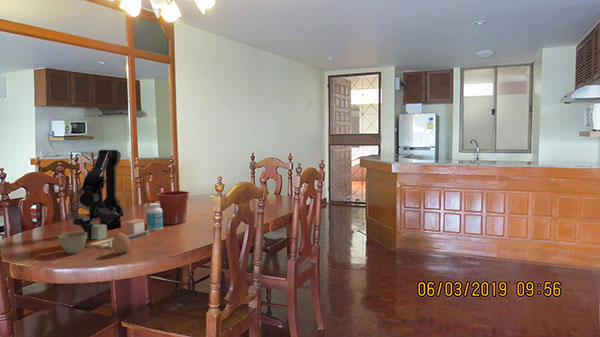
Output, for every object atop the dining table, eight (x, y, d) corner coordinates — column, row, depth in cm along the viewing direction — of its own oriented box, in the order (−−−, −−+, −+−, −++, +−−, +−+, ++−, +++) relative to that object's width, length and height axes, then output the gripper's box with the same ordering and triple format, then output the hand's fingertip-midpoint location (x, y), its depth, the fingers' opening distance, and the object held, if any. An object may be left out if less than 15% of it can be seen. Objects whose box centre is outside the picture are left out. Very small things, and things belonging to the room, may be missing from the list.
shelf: (89, 246, 168) (88, 238, 167) (129, 235, 188) (129, 227, 188) (110, 249, 163) (110, 241, 163) (150, 237, 183) (149, 230, 183)
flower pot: (184, 225, 208) (183, 195, 207) (153, 225, 208) (152, 195, 207) (193, 219, 224) (193, 191, 223) (164, 219, 225) (163, 190, 224)
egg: (132, 251, 161) (132, 231, 161) (126, 255, 155) (125, 235, 154) (116, 251, 161) (115, 231, 161) (109, 255, 155) (108, 235, 154)
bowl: (66, 248, 164) (66, 231, 164) (92, 248, 165) (91, 231, 165) (54, 256, 154) (53, 237, 154) (80, 255, 155) (80, 237, 155)
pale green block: (98, 242, 175) (98, 226, 174) (87, 240, 177) (86, 225, 177) (107, 240, 179) (106, 224, 179) (96, 238, 182) (95, 223, 181)
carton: (125, 237, 179) (125, 221, 178) (137, 233, 185) (137, 219, 185) (133, 238, 177) (133, 222, 177) (145, 234, 184) (144, 219, 183)
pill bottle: (157, 233, 192) (156, 205, 191) (143, 232, 193) (142, 204, 192) (165, 229, 199) (165, 202, 198) (152, 229, 200) (151, 202, 199)
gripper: (90, 206, 165) (91, 243, 166) (125, 200, 182) (126, 234, 184) (71, 205, 169) (73, 241, 171) (107, 198, 187) (109, 231, 188)
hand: (96, 236), depth 178 cm, fingers open, 7 cm apart
